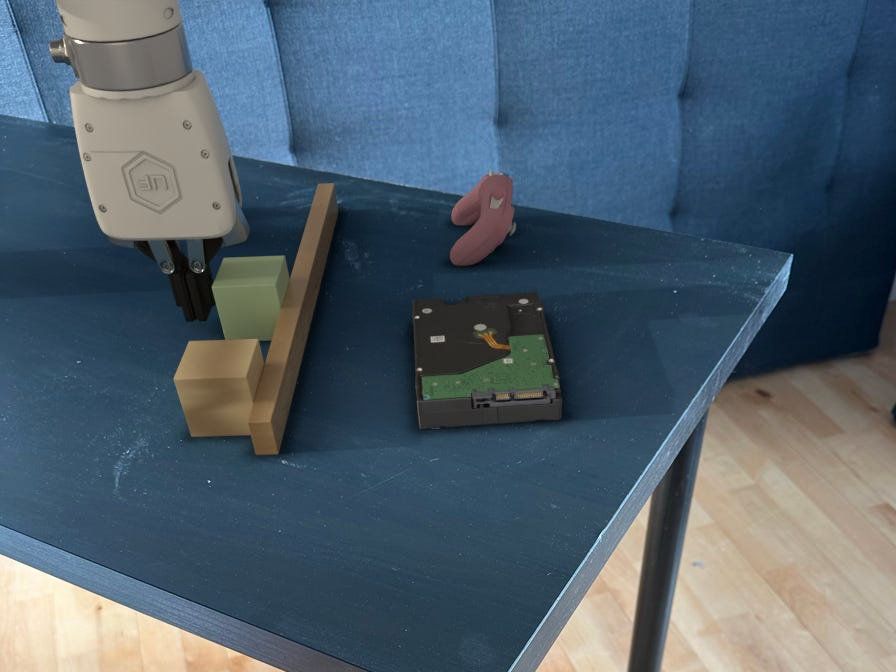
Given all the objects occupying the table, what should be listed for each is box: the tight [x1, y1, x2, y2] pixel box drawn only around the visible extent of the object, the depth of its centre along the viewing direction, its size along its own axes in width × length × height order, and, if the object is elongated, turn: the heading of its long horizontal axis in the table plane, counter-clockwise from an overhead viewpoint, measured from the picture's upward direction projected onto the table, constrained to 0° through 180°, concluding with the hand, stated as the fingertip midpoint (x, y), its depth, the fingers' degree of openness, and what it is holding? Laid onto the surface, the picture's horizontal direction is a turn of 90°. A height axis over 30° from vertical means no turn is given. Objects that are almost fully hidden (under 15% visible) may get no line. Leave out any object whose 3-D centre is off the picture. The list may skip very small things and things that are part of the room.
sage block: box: [212, 255, 290, 342], centre depth 75 cm, size 5×5×5 cm
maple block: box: [173, 339, 265, 438], centre depth 66 cm, size 5×5×5 cm
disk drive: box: [411, 291, 563, 430], centre depth 70 cm, size 10×3×15 cm
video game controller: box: [449, 169, 517, 267], centre depth 84 cm, size 10×5×7 cm, turn 0°
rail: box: [248, 182, 339, 456], centre depth 77 cm, size 2×40×3 cm, turn 0°
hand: (200, 312), depth 76 cm, fingers closed
